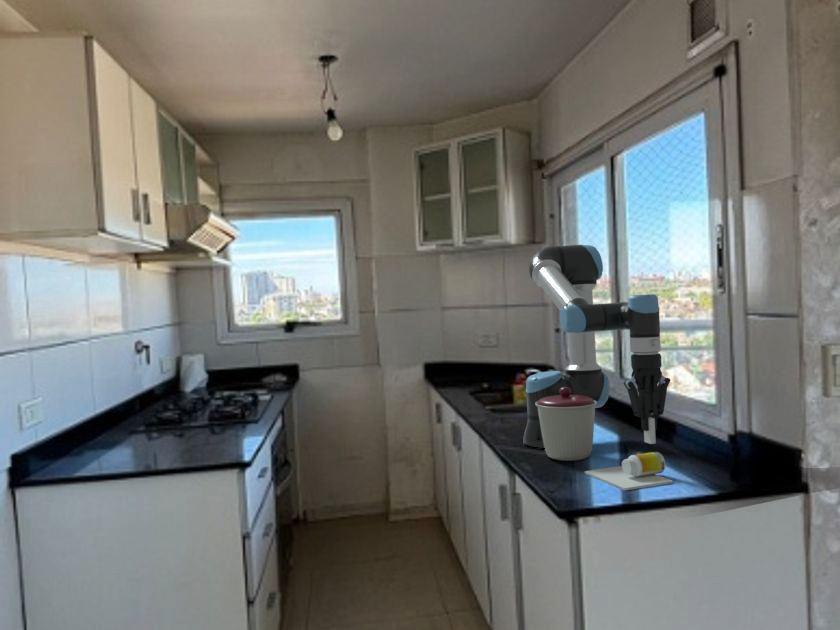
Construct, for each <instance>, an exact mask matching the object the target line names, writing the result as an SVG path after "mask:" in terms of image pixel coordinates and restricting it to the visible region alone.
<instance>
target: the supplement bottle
mask: <svg viewBox="0 0 840 630" xmlns="http://www.w3.org/2000/svg"><path fill="white" fill-rule="evenodd" d="M621 466H622V469H623V471H624V473H625V474H626V475H633V476H634V477H640V476H647V475H653V474H656V475H657V474H658V475H659V474H662V473H664V471H665V469H666V461H665V457H664V456H663V454H661V452H658V451H651V452H645V453H639V454H632V455H630V456H628V457H627V458H625V459H623V460H622V461H621Z"/></svg>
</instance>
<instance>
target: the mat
mask: <svg viewBox="0 0 840 630" xmlns="http://www.w3.org/2000/svg"><path fill="white" fill-rule="evenodd" d="M584 474H585V475H587V476H590V477H592V478H594V479H597V480H598V481H600V482H604V483H606V484H608V485H610V486H612V487H615V488H617V489H620V490H622V491H623V492H624V491H630V490H631V491H632V490H638V489H644V488H651V487H656V486H663V485H668V484H669V485H670V484H674V481H673V480H671V479H669V478H667V477H663V476H661V475H659V474H658V475H657V474H653V475H647V476H640V477H634V476H633V475H626V474H625V473H624V471H623V469H622V465H619V466H612V467H606V468H598V469H592V470H586V471H585V470H584Z"/></svg>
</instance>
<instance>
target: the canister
mask: <svg viewBox="0 0 840 630" xmlns="http://www.w3.org/2000/svg"><path fill="white" fill-rule="evenodd" d="M559 393H560V395H554V396H548V397H544V398H541V399H540V400H539V401H537V402H536V403H535V405H536V406H537V407H538V413H539V420H540V426H541V432H542V438H543V443H544V448H545V449H544V451H545V453H546V455H547V457H549V458H550V459H553V460H557V461H562V462H563V461H565V462H573V461H574V462H575V461H580V460H581V461H582V460H585V459H587V458H589V456H591V453H592V451H593V443H594V432H595V430H594V429H595V415H596V408H595V405H597V401H595V400H593V399H592V398H590V397H587V396H582V395H571V389H570V388H569V387H562V388H560V390H559Z"/></svg>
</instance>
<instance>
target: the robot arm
mask: <svg viewBox="0 0 840 630" xmlns="http://www.w3.org/2000/svg"><path fill="white" fill-rule="evenodd" d="M528 265H529V266H528V272H529V273H528V274H529V277H530V279H531V281H533V284H534V285H536V286H538V287H539V288H542V290H543V291H544V292H545V293H546V294H547V296H548V297H549V298H550V300H551V301H552V303H554V305H555V306H556V308H557V309H558V311H560V312H559V324H560V327H561V330H563V332H565V333H567V335H568V336H567V340H568V356H569V357H568V359H569V364H568V366H566V367H565V374H562V371H559V370H551V371H548V370H547V371H543V372H538V373H535V374H532V375H529V376H528V377H527V378H526V379H525V380H526V381H525V385H526V387H525V393H526V410H527V423H526V427H525V430H524V433H523V434H524V435H523V437H522V438H523V441H522V442H523V444H524V443H525V444H527V445H530V446H533V447H539V448H538V449H541V448H544V443H543V438H542V432H541V426H540V420H539V413H538V407H537V406H536V405H535V403H536V402H537V401H539V400H540V399H541V398H544V397H548V396H554V395H560V393H559V390H560V388H562V387H569V388H570V389H571V395H582V396H587V397H590V398H592V399H593V400H595V401H597V405H595V409H597V408H602V407H603V406H604V405H605V404H606V402H607V401H608V400H609V395H610V391H611V389H610V386H611V385H610V381H609V377H608V375H607V373H605V372H604V371H603V370H602V366H600V365H599V364H598V363H597V352H596V335H595V333H596V332H607V331H608V332H609V331H621V330H622V331H624V330H626V331H627V330H628V331H629V347H630V348H629V350H630V352H631V353H632V354H631V355H630V365H631V366H630V367H631V368H632V372H631V378H629V379H628V380H624V381H623V385H624V387H625V389H627V393H628V396H629V399H630V401H629V402H630V405H631V409H632V412H633V415H634V417H638V418H640V420H641V421H640V422H641V423H640V424H641V425H640V426H641V430H642V431H643V439H644V440H643V441H644V443H647V444H650V445H653V444H656V443H657V441H656V430H657V429H658V419H659V418H660V416H662V415H664V410H665V404H666V397H667V392H668V387H669V384H670V382H671V379H670V378H669V377H666V376H664V375H663V372H662V369H661V368H662V354H661V353H660V352H661V351H662V349H661V348H662V346H661V331H660V330H661V323H660V321H661V320H660V309H661V308H660V306H659V298H658V296H657V294H655V293H650V294H649V293H648V294H634V295H633V294H632V295H629V297H628V300H627V302H626V301H622V302H614V303H613V302H612V303H611V302H609V303H608V302H607V303H594V295H593V290H594V289H595V287H597V285H598V284H597V283H598V282H597V281H598V280H600V279H601V278H602V276H603V272H604V265H603V259H602V256H601V253H600V252H599V250H598V249H597V248H596V247H595V246H594V245H590V244H589V245H588V244H574V245H573V244H572V245H556V246H555V245H553V246H547V247H544V248H542V249H540V250H538V251H537V252H536V253H535V254H534V255H533V256H532V258H531V259H530V262H529V264H528Z"/></svg>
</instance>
